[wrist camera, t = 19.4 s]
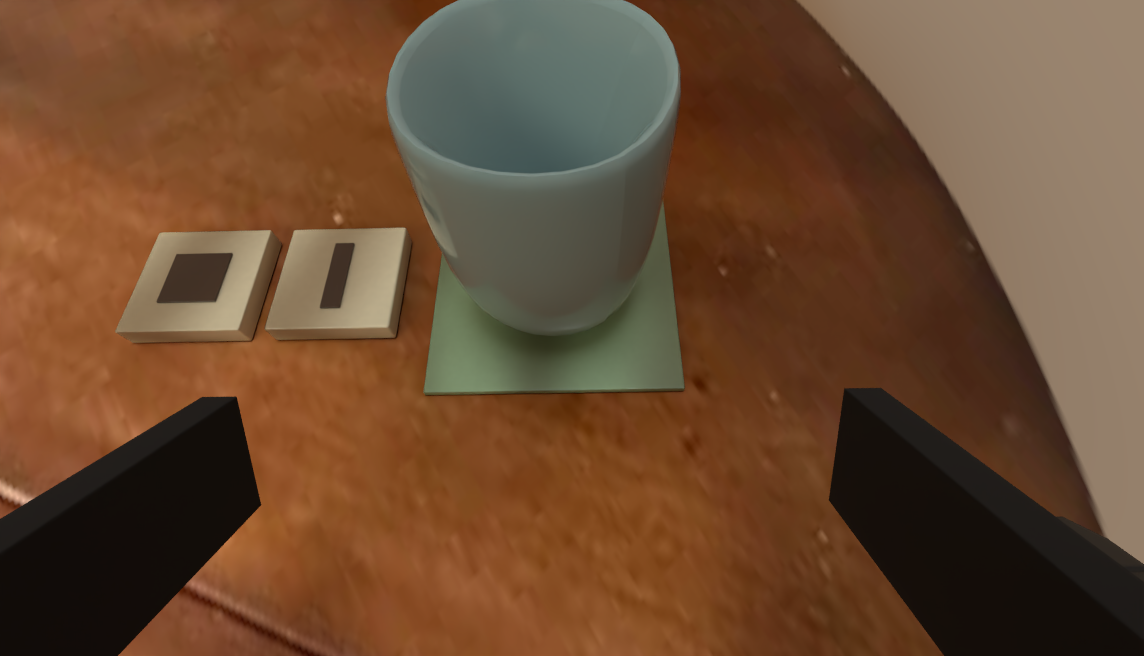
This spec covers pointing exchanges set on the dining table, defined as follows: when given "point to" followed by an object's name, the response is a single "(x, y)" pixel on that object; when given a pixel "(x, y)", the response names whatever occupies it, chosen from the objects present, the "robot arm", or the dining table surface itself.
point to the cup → (539, 151)
